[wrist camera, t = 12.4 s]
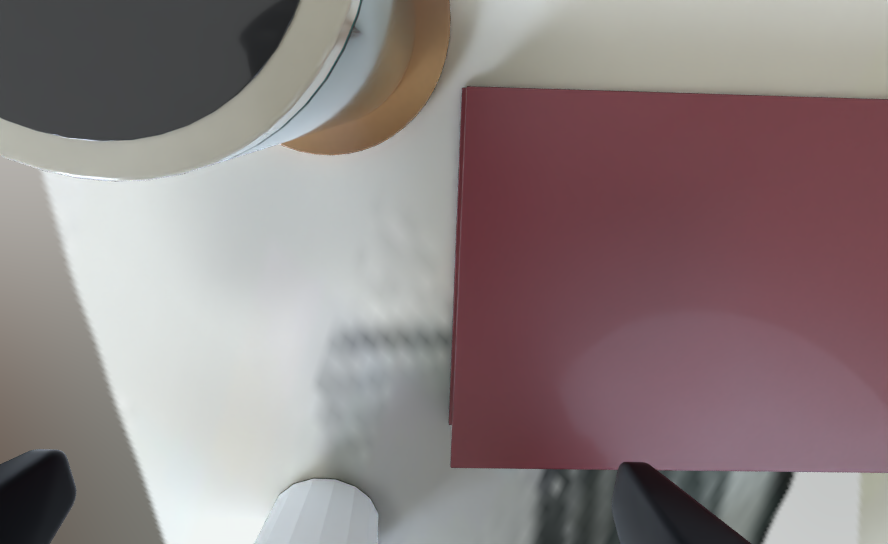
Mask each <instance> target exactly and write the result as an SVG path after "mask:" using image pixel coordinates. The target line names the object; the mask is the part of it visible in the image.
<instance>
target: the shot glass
mask: <svg viewBox="0 0 888 544" xmlns="http://www.w3.org/2000/svg"><path fill="white" fill-rule="evenodd" d="M254 544H378V512H377V510H376V509H375V507H374V505H373V503H372V501H371V499H370V498H369V497H368V496H366V495H365V494H364V493H363V492H361V491H360V490H359V489H358V488H356V487H355V486H352V485H349V484H347V483H344V482H341V481H338V480H335V479H310V480H307V481H303V482H300V483H296V484H293V485H292V486H291V487H289V488H288V489H287V490H285V491H284V492H283V493H281V494H280V495H279V496H278V498H277V500H276V502H275V504H274V506H273V508H272V510H271V512H270V514H269V516H268V518H267V520H266V521H265V523H264V525H263V527H262V529H261V531H260V533H259V535H258V537H257V539H256V541H255V543H254Z"/></svg>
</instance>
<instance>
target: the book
mask: <svg viewBox="0 0 888 544" xmlns="http://www.w3.org/2000/svg"><path fill="white" fill-rule="evenodd" d="M449 425H452V439H451V463H450V465H451V468H510V469H598V470H618V468H619V466H620V464H621V463H623V462H645V463H648V464H649V465H651V466H652V467H654V468H655V469H656V470H685V471H773V472H860V473H888V99H858V98H826V97H794V96H762V95H730V94H698V93H666V92H634V91H602V90H570V89H538V88H506V87H474V86H467V87H466V88H462V101H461V126H460V152H459V177H458V202H457V228H456V253H455V278H454V304H453V329H452V355H451V380H450V405H449Z"/></svg>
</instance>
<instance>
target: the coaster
mask: <svg viewBox="0 0 888 544" xmlns="http://www.w3.org/2000/svg"><path fill="white" fill-rule="evenodd" d="M413 2H414V8H415V16H416V35H415V44H414V50H413V55H412V58H411V61H410V64H409V67H408V69H407V72H406V74H405V76H404V78H403V80H402V81H401V83H400V85H399V86H398V88H397V89H396V91H395V92H394V93H393V94H392V95H391V97H390V98H389V99H388V100H387V101H386V102H385V103H384V104H382V105H381V106H380V107H379V108H378V109H376V110H375V111H373V112H372V113H370V114H368V115H366V116H364V117H362V118H360V119H358V120H355V121H352V122H349V123H346V124H342V125H339V126H336V127H333V128H330V129H326V130H323V131H320V132H317V133H313V134H310V135H307V136H304V137H301V138H297V139H294V140H291V141H288V142H285V143H281V144H280V145H282V146H284V147H288V148H291V149H294V150H297V151H300V152H306V153H311V154H319V155H339V154H349V153H353V152H358V151H362V150H365V149H368V148H370V147H373V146H376V145H378V144H380V143H382V142H383V141H385V140H387V139H389V138H391V137H392V136H394V135H395V134H396V133H398V132H399V131H400V130H402V129H403V128H404V127H405V126H406V125H407V124H408V123H409V122H410V121H411V120H413V119H414V118H415V117H416V115H417V114H418V113H419V112H420V110H421V109H422V108H423V107H424V105H425V104H426V103H427V101H428V99H429V97H430V96H431V94H432V92H433V91H434V89H435V87H436V84H437V82H438V80H439V78H440V75H441V73H442V69H443V66H444V63H445V59H446V56H447V50H448V44H449V38H450V19H451V17H450V2H449V0H413Z"/></svg>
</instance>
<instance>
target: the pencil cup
mask: <svg viewBox="0 0 888 544" xmlns="http://www.w3.org/2000/svg"><path fill="white" fill-rule="evenodd" d="M415 35H416V16H415V8H414V2H413V0H0V156H2V157H4V158H7V159H10V160H13V161H16V162H19V163H22V164H25V165H28V166H31V167H34V168H37V169H40V170H43V171H47V172H52V173H57V174H61V175H66V176H71V177H76V178H81V179H92V180H103V181H114V182H117V181H142V180H153V179H159V178H164V177H170V176H176V175H181V174H185V173H188V172H191V171H194V170H198V169H201V168H204V167H207V166H211V165H214V164H217V163H220V162H223V161H227V160H230V159H233V158H236V157H239V156H243V155H246V154H249V153H252V152H256V151H259V150H262V149H265V148H268V147H272V146H275V145H278V144H281V143H285V142H288V141H291V140H294V139H297V138H301V137H304V136H307V135H310V134H313V133H317V132H320V131H323V130H326V129H330V128H333V127H336V126H339V125H342V124H346V123H349V122H352V121H355V120H358V119H360V118H362V117H364V116H366V115H368V114H370V113H372V112H373V111H375V110H376V109H378V108H379V107H380V106H381V105H382V104H384V103H385V102H386V101H387V100H388V99H389V98H390V97H391V95H392V94H393V93H394V92H395V91H396V89H397V88H398V86H399V85H400V83H401V81H402V80H403V78H404V76H405V74H406V72H407V69H408V67H409V64H410V61H411V58H412V55H413V50H414V44H415Z"/></svg>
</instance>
